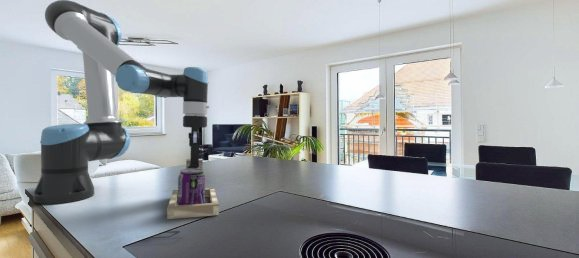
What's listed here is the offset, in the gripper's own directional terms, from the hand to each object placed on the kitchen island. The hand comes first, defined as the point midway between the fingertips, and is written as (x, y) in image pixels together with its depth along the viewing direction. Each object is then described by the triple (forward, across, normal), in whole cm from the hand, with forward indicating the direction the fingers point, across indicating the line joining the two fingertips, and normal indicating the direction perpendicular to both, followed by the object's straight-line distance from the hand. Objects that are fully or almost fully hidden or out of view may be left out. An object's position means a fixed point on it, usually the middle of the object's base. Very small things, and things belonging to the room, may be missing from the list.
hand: (194, 185), depth 91 cm
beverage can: (+4, -14, +1) cm, 15 cm away
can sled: (+4, -9, 0) cm, 10 cm away
